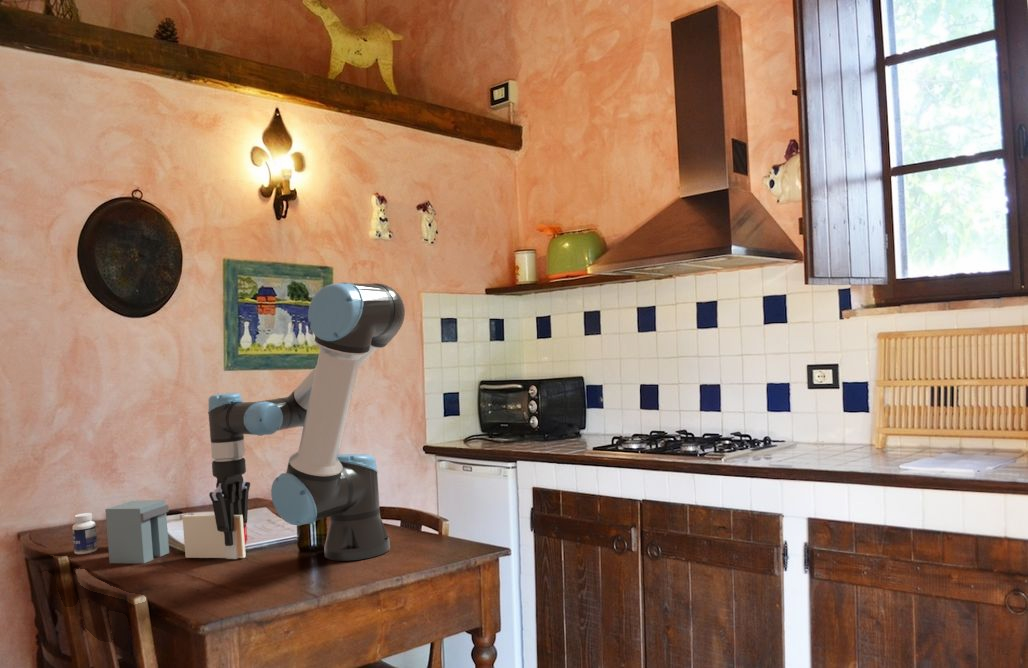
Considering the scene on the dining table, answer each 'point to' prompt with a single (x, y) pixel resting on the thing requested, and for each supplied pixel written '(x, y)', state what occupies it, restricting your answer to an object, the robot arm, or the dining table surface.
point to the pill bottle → (84, 534)
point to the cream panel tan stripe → (209, 537)
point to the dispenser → (137, 531)
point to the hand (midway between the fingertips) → (234, 557)
